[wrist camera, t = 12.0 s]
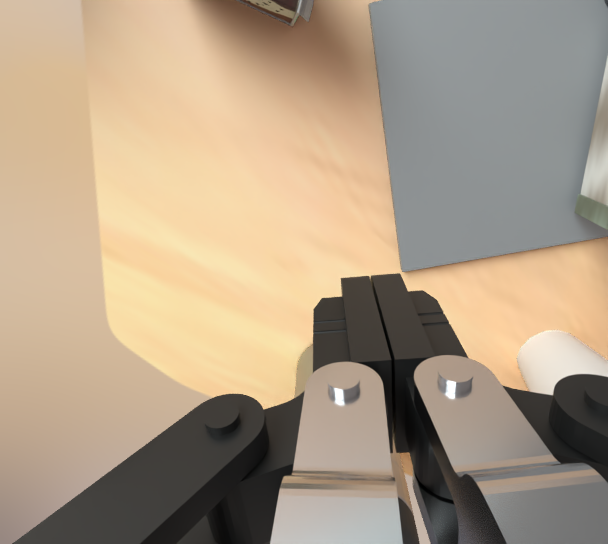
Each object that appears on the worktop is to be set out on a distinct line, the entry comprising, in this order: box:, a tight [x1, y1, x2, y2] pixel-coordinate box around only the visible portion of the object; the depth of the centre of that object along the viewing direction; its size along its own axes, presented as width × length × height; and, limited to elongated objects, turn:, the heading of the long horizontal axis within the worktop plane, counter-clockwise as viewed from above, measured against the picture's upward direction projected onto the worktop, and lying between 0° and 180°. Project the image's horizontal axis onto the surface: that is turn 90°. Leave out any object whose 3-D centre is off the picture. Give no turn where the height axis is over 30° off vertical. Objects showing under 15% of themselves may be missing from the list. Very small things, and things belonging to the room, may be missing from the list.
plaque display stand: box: [369, 0, 608, 272], centre depth 29 cm, size 22×21×11 cm
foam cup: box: [517, 330, 608, 395], centre depth 37 cm, size 10×9×13 cm
